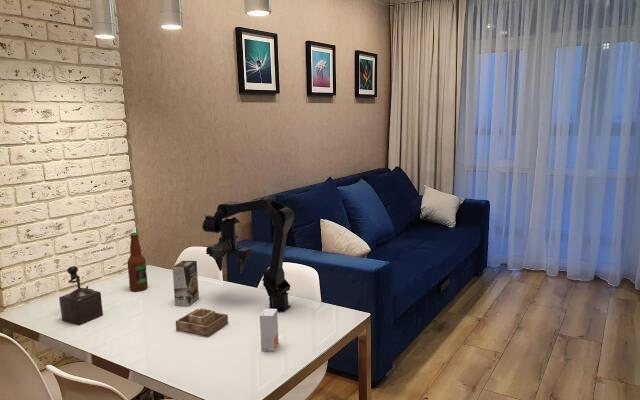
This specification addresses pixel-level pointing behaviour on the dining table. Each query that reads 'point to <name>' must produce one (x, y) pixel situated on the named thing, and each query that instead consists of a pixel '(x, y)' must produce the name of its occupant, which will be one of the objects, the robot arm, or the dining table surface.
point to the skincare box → (269, 329)
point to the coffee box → (185, 283)
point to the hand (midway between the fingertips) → (230, 272)
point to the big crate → (202, 330)
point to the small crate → (202, 317)
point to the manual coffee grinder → (80, 302)
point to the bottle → (136, 266)
